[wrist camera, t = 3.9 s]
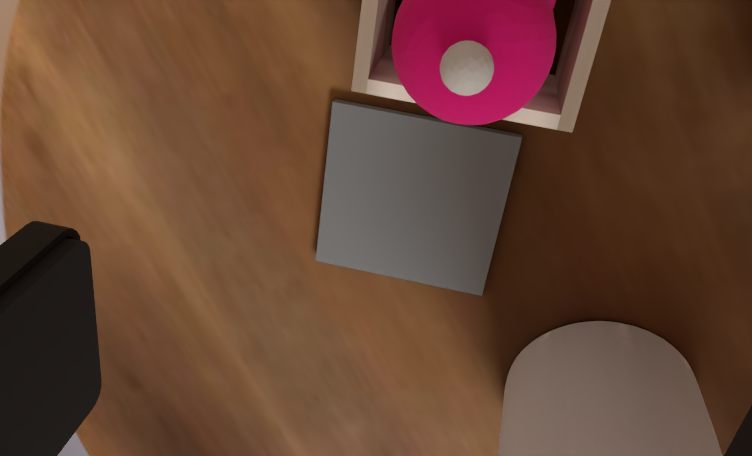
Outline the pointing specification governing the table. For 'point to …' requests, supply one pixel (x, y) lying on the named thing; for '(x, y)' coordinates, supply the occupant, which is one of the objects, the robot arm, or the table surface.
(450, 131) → the mat
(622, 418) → the utensil holder
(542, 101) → the crate
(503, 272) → the table surface
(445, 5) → the pepper mill
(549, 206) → the table surface
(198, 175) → the table surface
